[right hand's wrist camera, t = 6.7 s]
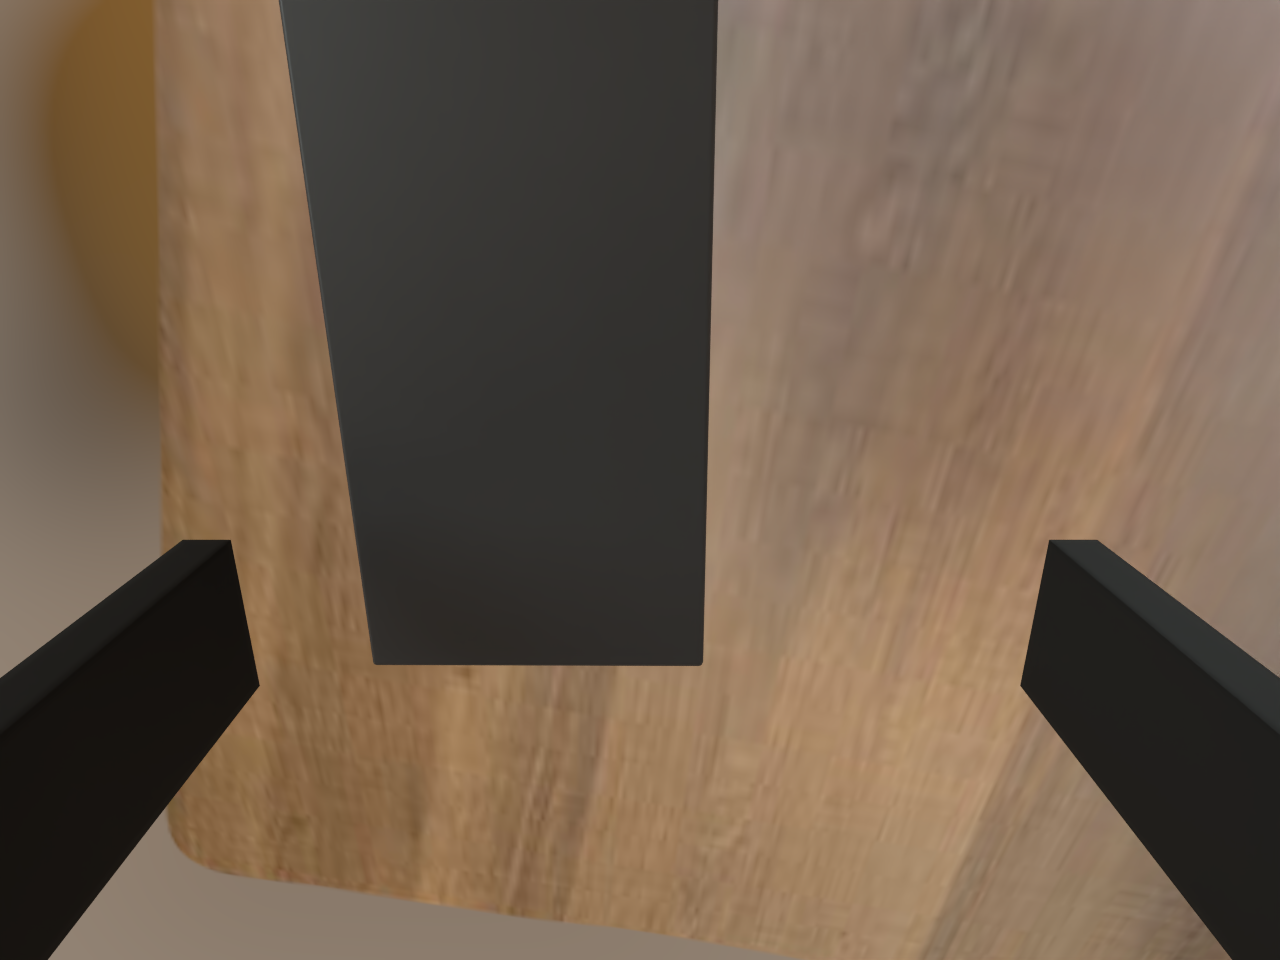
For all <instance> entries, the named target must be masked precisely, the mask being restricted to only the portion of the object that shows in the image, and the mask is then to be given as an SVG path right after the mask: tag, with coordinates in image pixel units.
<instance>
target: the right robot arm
mask: <svg viewBox="0 0 1280 960" xmlns="http://www.w3.org/2000/svg"><path fill="white" fill-rule="evenodd" d="M259 686H260V685H259V680H258V675H257V670H256V665H255V660H254V655H253V650H252V645H251V640H250V635H249V630H248V625H247V620H246V615H245V610H244V605H243V599H242V594H241V589H240V584H239V579H238V574H237V569H236V564H235V559H234V554H233V549H232V544H231V540H182V541H181V542H179V543H178V544H177V545H176V546H174V547H173V548H172V549H170V550H169V551H168V552H166V553H165V554H164V555H162V556H161V557H160V558H158V559H157V560H156V561H154V562H153V563H152V564H150V565H149V566H148V567H146V568H145V569H144V570H143V571H141V572H140V573H139V574H137V575H136V576H135V577H133V578H132V579H131V580H129V581H128V582H127V583H125V584H124V585H123V586H121V587H120V588H119V589H117V590H116V591H115V592H113V593H112V594H111V595H109V596H108V597H107V598H106V599H104V600H103V601H102V602H100V603H99V604H98V605H96V606H95V607H94V608H92V609H91V610H90V611H88V612H87V613H86V614H84V615H83V616H82V617H80V618H79V619H78V620H76V621H75V622H74V623H73V624H71V625H70V626H69V627H67V628H66V629H65V630H63V631H62V632H61V633H59V634H58V635H57V636H55V637H54V638H53V639H51V640H50V641H49V642H47V643H46V644H45V645H43V646H42V647H41V648H39V649H38V650H37V651H36V652H34V653H33V654H32V655H30V656H29V657H28V658H26V659H25V660H24V661H22V662H21V663H20V664H18V665H17V666H16V667H14V668H13V669H12V670H10V671H9V672H8V673H6V674H5V675H4V676H3V677H1V678H0V960H48V959H49V957H50V956H51V955H52V953H53V952H54V951H55V950H56V948H57V947H58V946H59V944H60V943H61V942H62V941H63V939H64V938H65V937H66V935H67V934H68V933H69V931H70V930H71V929H72V928H73V926H74V925H75V924H76V922H77V921H78V920H79V919H80V917H81V916H82V915H83V913H84V912H85V911H86V909H87V908H88V907H89V906H90V904H91V903H92V902H93V900H94V899H95V898H96V897H97V895H98V894H99V893H100V891H101V890H102V889H103V888H104V886H105V885H106V884H107V882H108V881H109V880H110V878H111V877H112V876H113V875H114V873H115V872H116V871H117V869H118V868H119V867H120V866H121V864H122V863H123V862H124V860H125V859H126V858H127V856H128V855H129V854H130V853H131V851H132V850H133V849H134V847H135V846H136V845H137V844H138V842H139V841H140V840H141V838H142V837H143V836H144V835H145V833H146V832H147V831H148V829H149V828H150V827H151V825H152V824H153V823H154V822H155V820H156V819H157V818H158V816H159V815H160V814H161V813H162V811H163V810H164V809H165V807H166V806H167V805H168V804H169V802H170V801H171V800H172V798H173V797H174V796H175V794H176V793H177V792H178V791H179V789H180V788H181V787H182V785H183V784H184V783H185V782H186V780H187V779H188V778H189V776H190V775H191V774H192V772H193V771H194V770H195V769H196V767H197V766H198V765H199V763H200V762H201V761H202V760H203V758H204V757H205V756H206V754H207V753H208V752H209V750H210V749H211V748H212V747H213V745H214V744H215V743H216V741H217V740H218V739H219V738H220V736H221V735H222V734H223V732H224V731H225V730H226V729H227V727H228V726H229V725H230V723H231V722H232V721H233V719H234V718H235V717H236V716H237V714H238V713H239V712H240V710H241V709H242V708H243V707H244V705H245V704H246V703H247V701H248V700H249V699H250V697H251V696H252V695H253V694H254V692H255V691H256V690H257V688H258V687H259ZM1020 686H1021V687H1022V688H1023V690H1024V691H1025V692H1026V694H1027V695H1028V696H1029V697H1030V699H1031V700H1032V701H1033V703H1034V704H1035V705H1036V707H1037V708H1038V709H1039V710H1040V712H1041V713H1042V714H1043V716H1044V717H1045V718H1046V719H1047V721H1048V722H1049V723H1050V725H1051V726H1052V727H1053V729H1054V730H1055V731H1056V732H1057V734H1058V735H1059V736H1060V738H1061V739H1062V740H1063V741H1064V743H1065V744H1066V745H1067V747H1068V748H1069V749H1070V750H1071V752H1072V753H1073V754H1074V756H1075V757H1076V758H1077V760H1078V761H1079V762H1080V763H1081V765H1082V766H1083V767H1084V769H1085V770H1086V771H1087V772H1088V774H1089V775H1090V776H1091V778H1092V779H1093V780H1094V782H1095V783H1096V784H1097V785H1098V787H1099V788H1100V789H1101V791H1102V792H1103V793H1104V794H1105V796H1106V797H1107V798H1108V800H1109V801H1110V802H1111V804H1112V805H1113V806H1114V807H1115V809H1116V810H1117V811H1118V813H1119V814H1120V815H1121V816H1122V818H1123V819H1124V820H1125V822H1126V823H1127V824H1128V825H1129V827H1130V828H1131V829H1132V831H1133V832H1134V833H1135V835H1136V836H1137V837H1138V838H1139V840H1140V841H1141V842H1142V844H1143V845H1144V846H1145V847H1146V849H1147V850H1148V851H1149V853H1150V854H1151V855H1152V857H1153V858H1154V859H1155V860H1156V862H1157V863H1158V864H1159V866H1160V867H1161V868H1162V869H1163V871H1164V872H1165V873H1166V875H1167V876H1168V877H1169V878H1170V880H1171V881H1172V882H1173V884H1174V885H1175V886H1176V888H1177V889H1178V890H1179V891H1180V893H1181V894H1182V895H1183V897H1184V898H1185V899H1186V900H1187V902H1188V903H1189V904H1190V906H1191V907H1192V908H1193V910H1194V911H1195V912H1196V913H1197V915H1198V916H1199V917H1200V919H1201V920H1202V921H1203V922H1204V924H1205V925H1206V926H1207V928H1208V929H1209V930H1210V932H1211V933H1212V934H1213V935H1214V937H1215V938H1216V939H1217V941H1218V942H1219V943H1220V944H1221V946H1222V947H1223V948H1224V950H1225V951H1226V952H1227V953H1228V955H1229V956H1230V957H1231V959H1232V960H1280V678H1279V677H1278V676H1276V675H1275V674H1274V673H1272V672H1271V671H1270V670H1268V669H1267V668H1266V667H1264V666H1263V665H1262V664H1260V663H1259V662H1258V661H1256V660H1255V659H1254V658H1252V657H1251V656H1250V655H1248V654H1247V653H1246V652H1244V651H1243V650H1242V649H1241V648H1239V647H1238V646H1237V645H1235V644H1234V643H1233V642H1231V641H1230V640H1229V639H1227V638H1226V637H1225V636H1223V635H1222V634H1221V633H1219V632H1218V631H1217V630H1215V629H1214V628H1213V627H1211V626H1210V625H1209V624H1208V623H1206V622H1205V621H1204V620H1202V619H1201V618H1200V617H1198V616H1197V615H1196V614H1194V613H1193V612H1192V611H1190V610H1189V609H1188V608H1186V607H1185V606H1184V605H1182V604H1181V603H1180V602H1178V601H1177V600H1176V599H1174V598H1173V597H1172V596H1171V595H1169V594H1168V593H1167V592H1165V591H1164V590H1163V589H1161V588H1160V587H1159V586H1157V585H1156V584H1155V583H1153V582H1152V581H1151V580H1149V579H1148V578H1147V577H1145V576H1144V575H1143V574H1141V573H1140V572H1139V571H1137V570H1136V569H1135V568H1134V567H1132V566H1131V565H1130V564H1128V563H1127V562H1126V561H1124V560H1123V559H1122V558H1120V557H1119V556H1118V555H1116V554H1115V553H1114V552H1112V551H1111V550H1110V549H1108V548H1107V547H1106V546H1104V545H1103V544H1102V543H1101V542H1099V541H1098V540H1049V544H1048V549H1047V554H1046V559H1045V564H1044V569H1043V574H1042V579H1041V584H1040V589H1039V594H1038V599H1037V605H1036V610H1035V615H1034V620H1033V625H1032V630H1031V635H1030V640H1029V645H1028V650H1027V655H1026V660H1025V665H1024V670H1023V675H1022V680H1021V685H1020Z"/></svg>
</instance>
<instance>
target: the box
mask: <svg viewBox="0 0 1280 960" xmlns="http://www.w3.org/2000/svg"><path fill="white" fill-rule="evenodd" d="M279 5H280V12H281V19H282V26H283V33H284V40H285V47H286V54H287V61H288V68H289V75H290V82H291V89H292V96H293V103H294V110H295V117H296V124H297V131H298V138H299V145H300V152H301V159H302V166H303V173H304V180H305V187H306V194H307V201H308V208H309V215H310V222H311V229H312V236H313V243H314V250H315V257H316V264H317V271H318V278H319V285H320V292H321V299H322V306H323V313H324V320H325V327H326V334H327V341H328V348H329V355H330V362H331V369H332V376H333V383H334V390H335V397H336V404H337V411H338V418H339V425H340V432H341V439H342V446H343V453H344V460H345V467H346V474H347V481H348V488H349V495H350V502H351V509H352V516H353V523H354V530H355V537H356V544H357V551H358V558H359V565H360V572H361V579H362V586H363V593H364V600H365V607H366V614H367V621H368V628H369V635H370V642H371V649H372V656H373V662H374V664H376V665H590V666H700V665H702V663H703V641H704V597H705V553H706V509H707V465H708V421H709V377H710V332H711V288H712V244H713V200H714V156H715V112H716V67H717V23H718V0H279Z"/></svg>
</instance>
